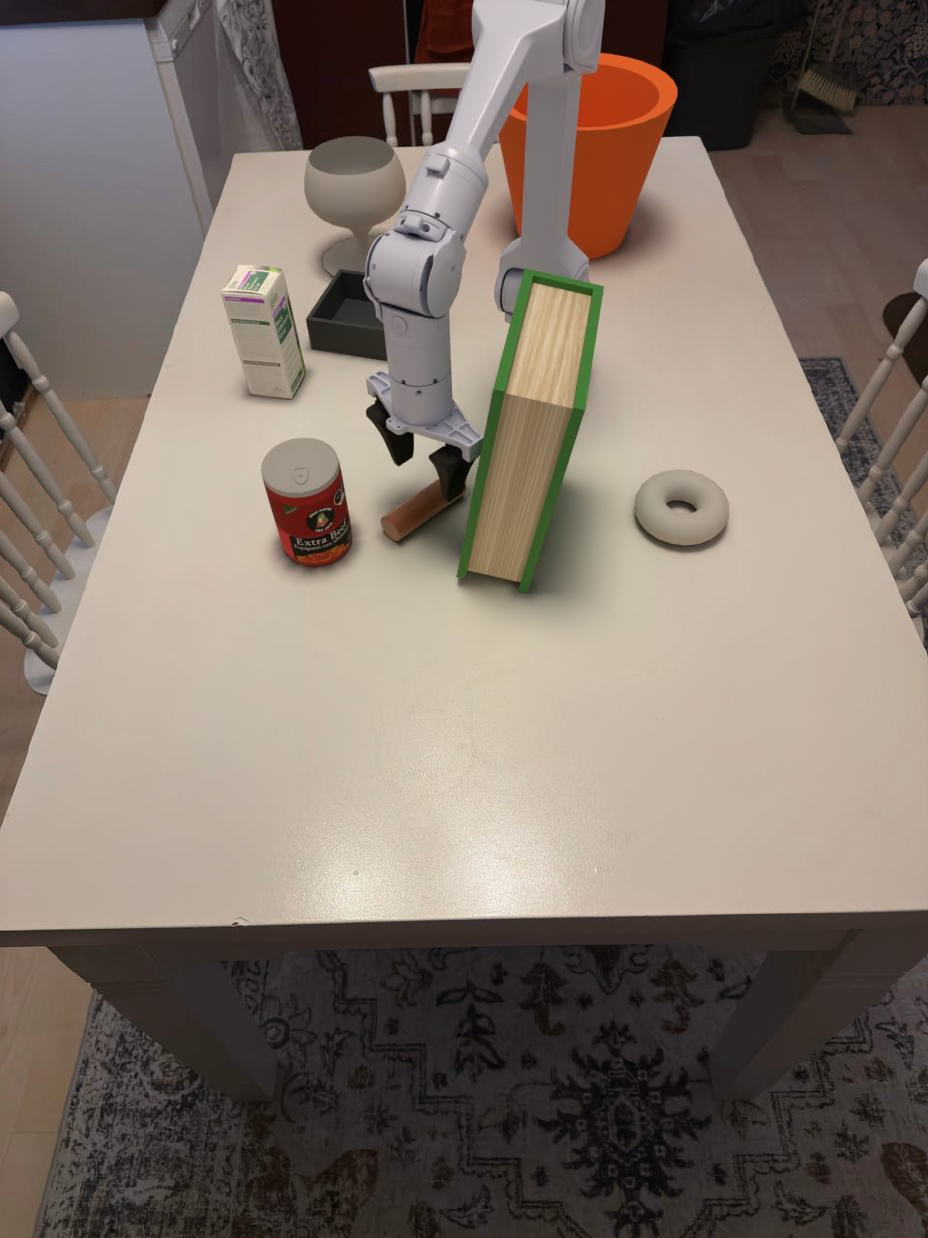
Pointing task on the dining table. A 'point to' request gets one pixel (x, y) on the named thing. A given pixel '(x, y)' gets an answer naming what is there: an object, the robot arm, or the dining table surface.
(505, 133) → the flowerpot
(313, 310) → the bin
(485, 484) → the hardback book
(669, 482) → the donut
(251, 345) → the syrup box
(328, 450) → the canned food
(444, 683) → the dining table surface
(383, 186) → the chalice
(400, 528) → the wooden dowel
